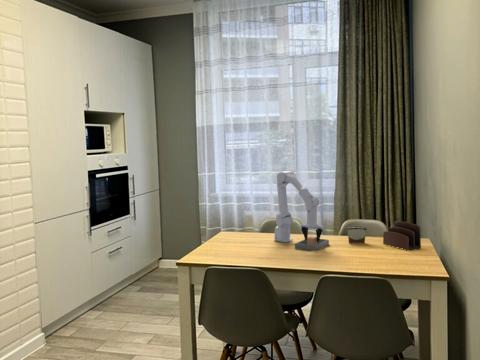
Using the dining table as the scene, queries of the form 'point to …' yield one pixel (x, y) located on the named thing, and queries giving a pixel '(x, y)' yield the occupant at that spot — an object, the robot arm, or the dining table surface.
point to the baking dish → (304, 246)
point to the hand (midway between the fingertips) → (312, 240)
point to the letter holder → (403, 236)
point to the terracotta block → (312, 240)
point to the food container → (356, 234)
